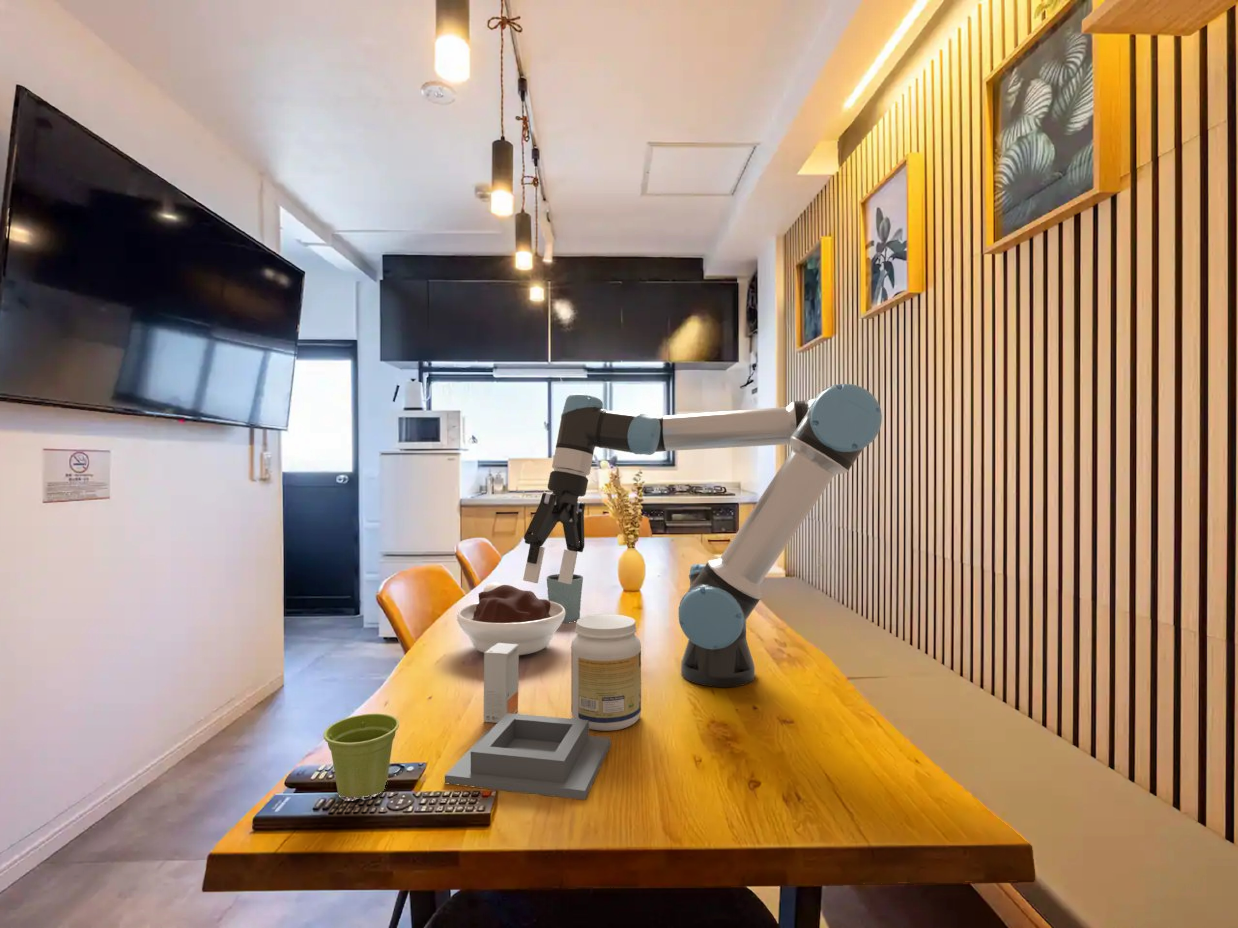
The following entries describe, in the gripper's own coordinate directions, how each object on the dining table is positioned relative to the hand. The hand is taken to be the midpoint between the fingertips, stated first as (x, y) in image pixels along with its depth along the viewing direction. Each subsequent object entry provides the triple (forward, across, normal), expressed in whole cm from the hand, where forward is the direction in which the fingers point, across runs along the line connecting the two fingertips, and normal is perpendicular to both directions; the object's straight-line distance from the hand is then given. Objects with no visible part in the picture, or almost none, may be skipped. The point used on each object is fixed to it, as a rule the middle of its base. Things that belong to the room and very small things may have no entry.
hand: (548, 582), depth 119 cm
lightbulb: (+18, -44, -38) cm, 61 cm away
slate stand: (+24, +20, +14) cm, 34 cm away
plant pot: (+29, +35, -3) cm, 46 cm away
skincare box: (+24, +8, 0) cm, 25 cm away
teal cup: (+14, -54, -22) cm, 60 cm away
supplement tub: (+20, +1, +17) cm, 27 cm away
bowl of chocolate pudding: (+20, -25, -19) cm, 37 cm away
